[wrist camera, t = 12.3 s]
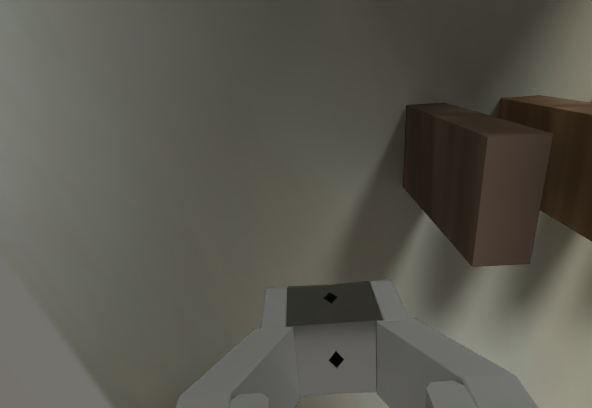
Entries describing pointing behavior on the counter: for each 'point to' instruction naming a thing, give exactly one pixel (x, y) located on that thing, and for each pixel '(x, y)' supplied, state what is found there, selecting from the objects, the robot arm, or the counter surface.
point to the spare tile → (477, 180)
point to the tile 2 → (561, 155)
